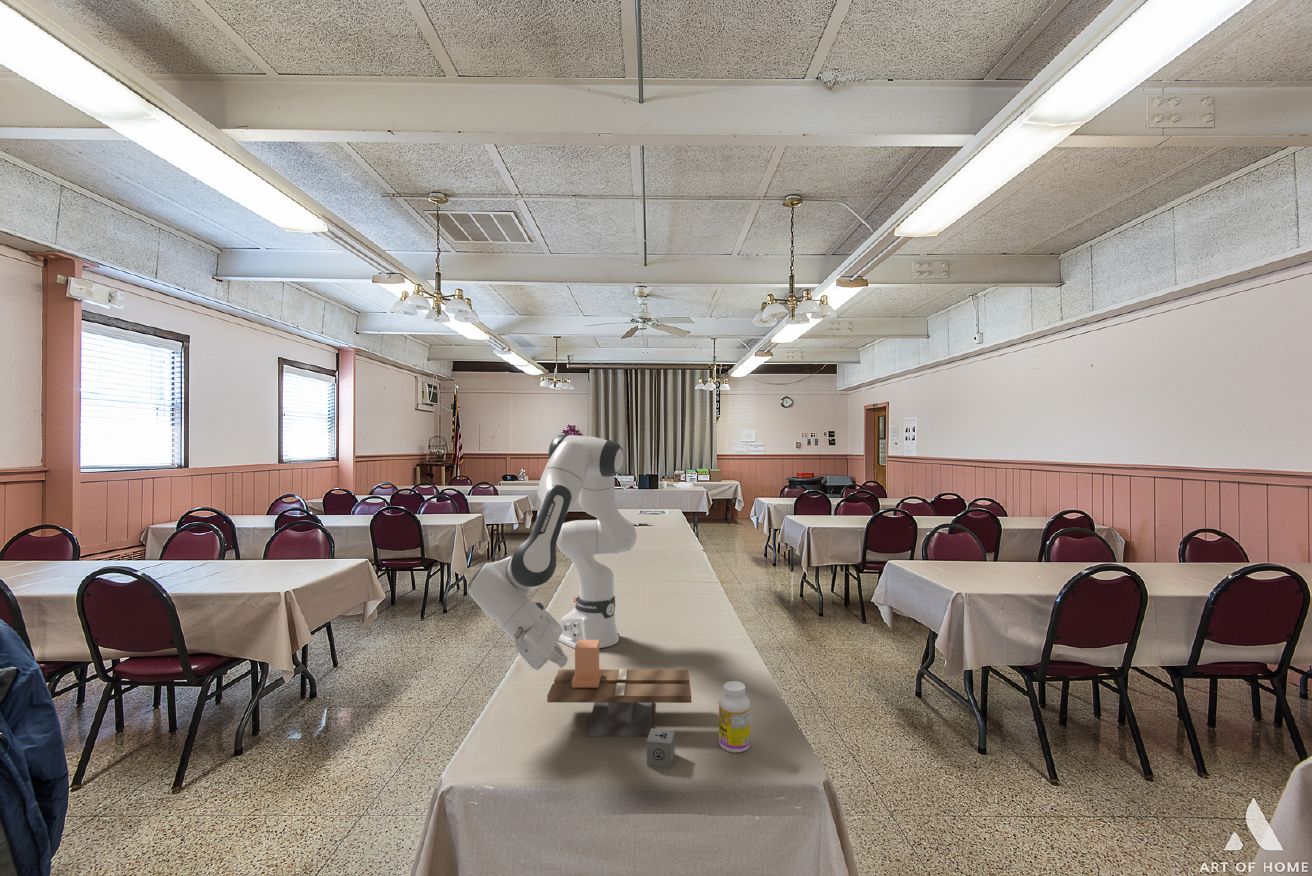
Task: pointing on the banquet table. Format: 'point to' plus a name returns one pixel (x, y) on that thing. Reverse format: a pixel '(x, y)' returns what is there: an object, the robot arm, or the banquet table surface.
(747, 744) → the supplement bottle
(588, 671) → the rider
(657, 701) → the balance beam
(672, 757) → the dice cube
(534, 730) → the banquet table surface
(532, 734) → the banquet table surface
